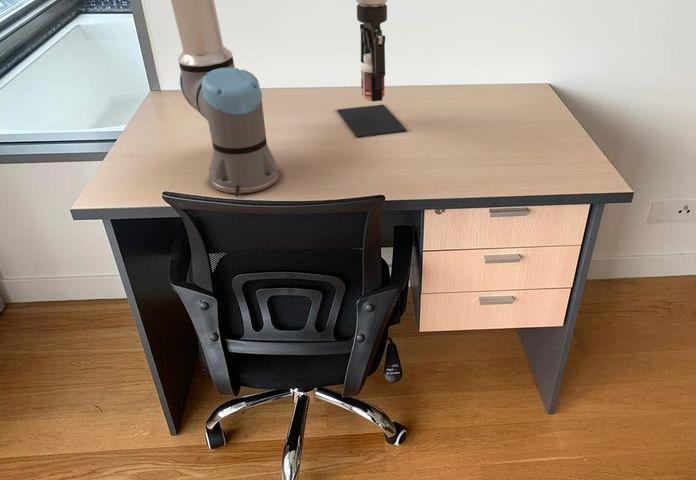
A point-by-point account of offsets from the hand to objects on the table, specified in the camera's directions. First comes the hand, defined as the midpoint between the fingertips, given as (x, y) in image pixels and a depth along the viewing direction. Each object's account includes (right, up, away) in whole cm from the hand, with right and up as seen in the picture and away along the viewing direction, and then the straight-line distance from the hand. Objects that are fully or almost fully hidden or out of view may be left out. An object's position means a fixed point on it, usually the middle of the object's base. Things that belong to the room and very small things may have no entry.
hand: (373, 96), depth 158 cm
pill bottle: (0, -1, 0) cm, 1 cm away
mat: (-1, -5, +6) cm, 8 cm away
